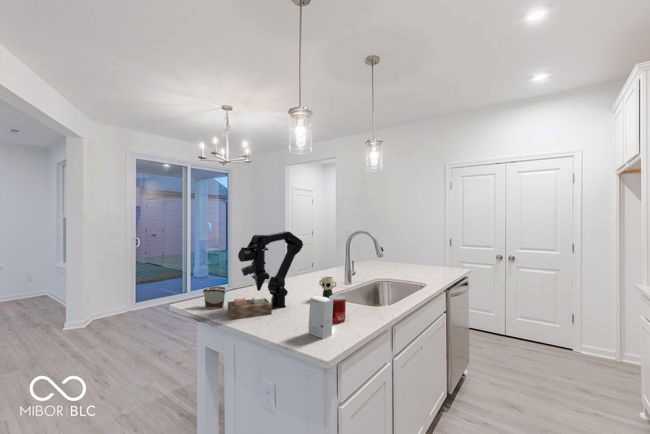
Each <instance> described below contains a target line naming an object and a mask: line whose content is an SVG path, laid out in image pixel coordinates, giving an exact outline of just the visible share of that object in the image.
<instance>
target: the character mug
mask: <svg viewBox="0 0 650 434" xmlns="http://www.w3.org/2000/svg"><path fill="white" fill-rule="evenodd" d="M318 282H319V286H321V288H322V289H323V290H322V291H323V292H322V297H327V298H329V296H332V295H334V294H333V289H334V288H337V281H335V277H333V276H322V277H321V279H320V280H319V281H318Z"/></svg>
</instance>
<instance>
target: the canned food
mask: <svg viewBox="0 0 650 434" xmlns="http://www.w3.org/2000/svg"><path fill="white" fill-rule="evenodd" d="M329 299H333V316H332V324H343V323H345V321H346V305H347V304H346V296H345V295H341V294H333V295H332V296H329Z"/></svg>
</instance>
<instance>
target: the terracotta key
mask: <svg viewBox="0 0 650 434" xmlns="http://www.w3.org/2000/svg"><path fill="white" fill-rule="evenodd" d="M246 300H247V299H246V298H245V297H244V298H243V297H242V298H234V299H233V301H234V305H235V306H242V305H246Z"/></svg>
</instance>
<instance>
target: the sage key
mask: <svg viewBox="0 0 650 434" xmlns="http://www.w3.org/2000/svg"><path fill="white" fill-rule="evenodd" d="M265 298H266V297H264V296H263V295H262V296H252V298H251V299H252V302H253V303H254V304H259V303H265Z"/></svg>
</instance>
